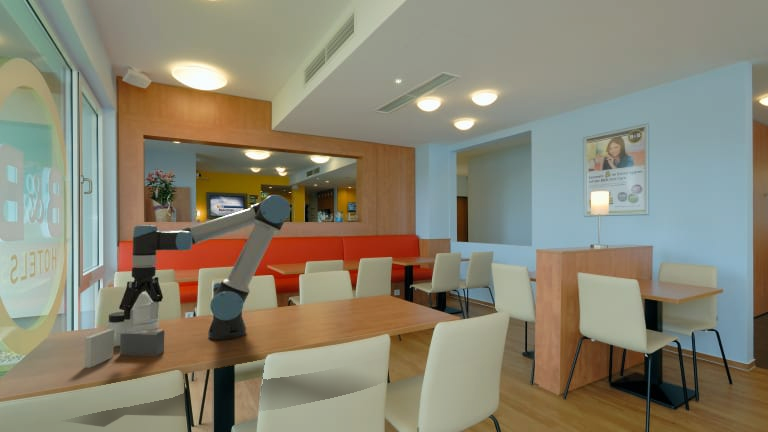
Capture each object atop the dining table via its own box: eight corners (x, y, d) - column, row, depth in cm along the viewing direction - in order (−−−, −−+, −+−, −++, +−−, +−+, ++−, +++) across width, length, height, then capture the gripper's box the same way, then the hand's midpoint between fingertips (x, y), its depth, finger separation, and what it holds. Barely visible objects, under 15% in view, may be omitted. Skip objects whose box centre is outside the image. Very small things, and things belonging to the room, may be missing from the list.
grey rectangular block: (164, 352, 139) (164, 329, 139) (156, 356, 135) (157, 332, 135) (128, 351, 140) (128, 329, 140) (119, 355, 135) (120, 332, 136)
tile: (113, 357, 134) (113, 329, 134) (90, 367, 124) (91, 337, 124) (107, 356, 134) (108, 329, 134) (84, 367, 124) (84, 337, 124)
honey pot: (133, 334, 161) (134, 293, 162) (119, 329, 168) (120, 290, 169) (163, 327, 172) (164, 288, 173) (149, 323, 179) (150, 286, 179)
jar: (105, 348, 143) (106, 317, 143) (107, 342, 150) (108, 312, 150) (133, 344, 148) (134, 314, 148) (134, 338, 155) (134, 310, 155)
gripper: (156, 262, 151) (154, 315, 150) (108, 269, 126) (105, 332, 125) (174, 263, 150) (172, 315, 150) (129, 270, 125) (126, 333, 125)
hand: (141, 323), depth 137 cm, fingers open, 13 cm apart
